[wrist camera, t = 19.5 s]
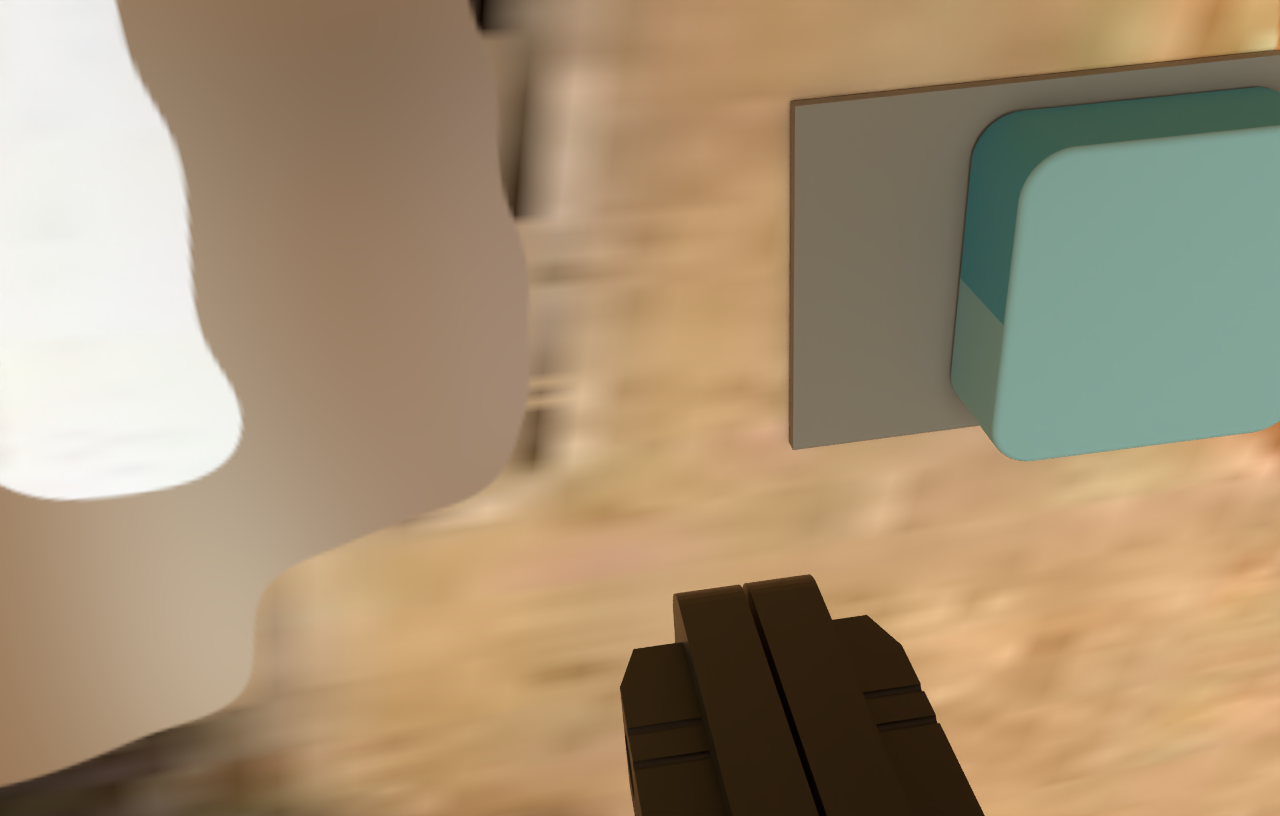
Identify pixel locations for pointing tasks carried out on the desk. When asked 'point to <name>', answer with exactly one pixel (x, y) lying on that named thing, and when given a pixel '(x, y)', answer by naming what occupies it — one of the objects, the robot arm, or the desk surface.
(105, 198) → the desk surface
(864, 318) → the mat
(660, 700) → the robot arm
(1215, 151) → the data package
